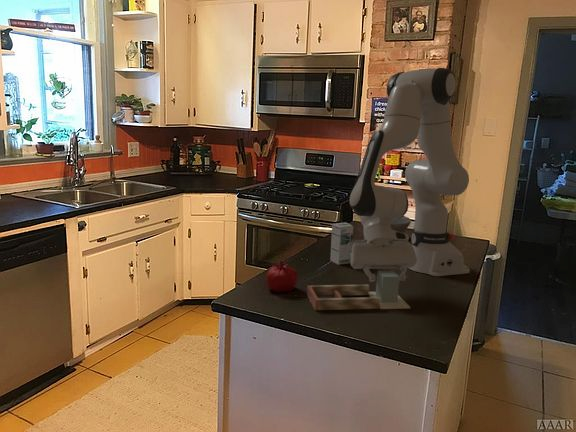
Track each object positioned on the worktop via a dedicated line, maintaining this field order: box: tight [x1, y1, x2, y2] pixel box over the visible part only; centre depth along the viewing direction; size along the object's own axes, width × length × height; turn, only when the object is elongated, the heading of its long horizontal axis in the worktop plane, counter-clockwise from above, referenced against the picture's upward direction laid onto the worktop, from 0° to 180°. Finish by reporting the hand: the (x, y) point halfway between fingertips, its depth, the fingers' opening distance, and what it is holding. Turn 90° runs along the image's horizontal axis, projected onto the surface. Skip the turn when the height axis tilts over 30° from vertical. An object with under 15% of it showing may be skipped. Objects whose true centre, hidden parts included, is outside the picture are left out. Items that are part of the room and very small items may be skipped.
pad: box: [367, 291, 411, 310], centre depth 144 cm, size 9×12×1 cm
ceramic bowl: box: [358, 215, 412, 233], centre depth 212 cm, size 22×23×10 cm
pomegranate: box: [265, 260, 299, 293], centre depth 149 cm, size 10×10×9 cm
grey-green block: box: [375, 270, 400, 303], centre depth 143 cm, size 5×5×8 cm
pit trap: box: [306, 284, 343, 311], centre depth 141 cm, size 9×11×3 cm
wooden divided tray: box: [311, 283, 381, 311], centre depth 142 cm, size 18×11×3 cm, turn 99°
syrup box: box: [330, 222, 354, 266], centre depth 177 cm, size 6×6×14 cm
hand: (387, 280), depth 143 cm, fingers open, 8 cm apart
